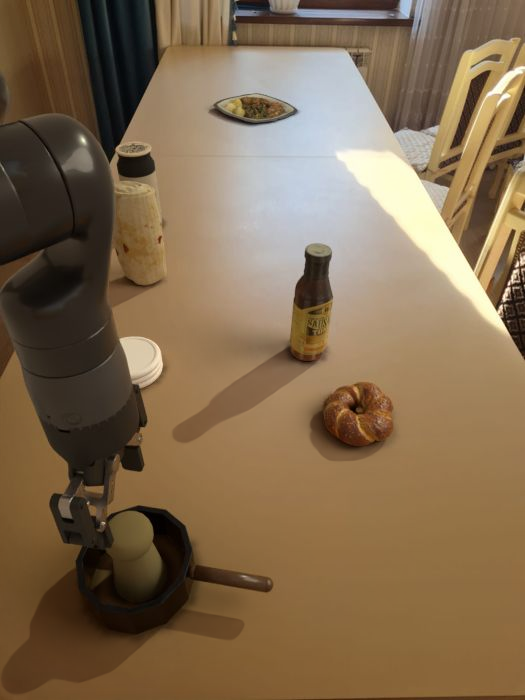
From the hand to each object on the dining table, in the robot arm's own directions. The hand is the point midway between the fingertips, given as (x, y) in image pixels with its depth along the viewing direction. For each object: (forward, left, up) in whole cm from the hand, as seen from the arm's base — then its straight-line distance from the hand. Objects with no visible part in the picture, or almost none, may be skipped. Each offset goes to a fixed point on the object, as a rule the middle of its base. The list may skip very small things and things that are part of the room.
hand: (119, 504), depth 53 cm
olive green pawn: (0, 0, -16) cm, 16 cm away
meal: (-16, +163, -15) cm, 164 cm away
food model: (-20, +59, -16) cm, 64 cm away
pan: (+5, 0, -15) cm, 16 cm away
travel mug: (-27, +80, -15) cm, 86 cm away
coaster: (-13, +33, -16) cm, 39 cm away
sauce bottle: (+15, +43, -16) cm, 48 cm away
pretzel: (+24, +29, -16) cm, 41 cm away
